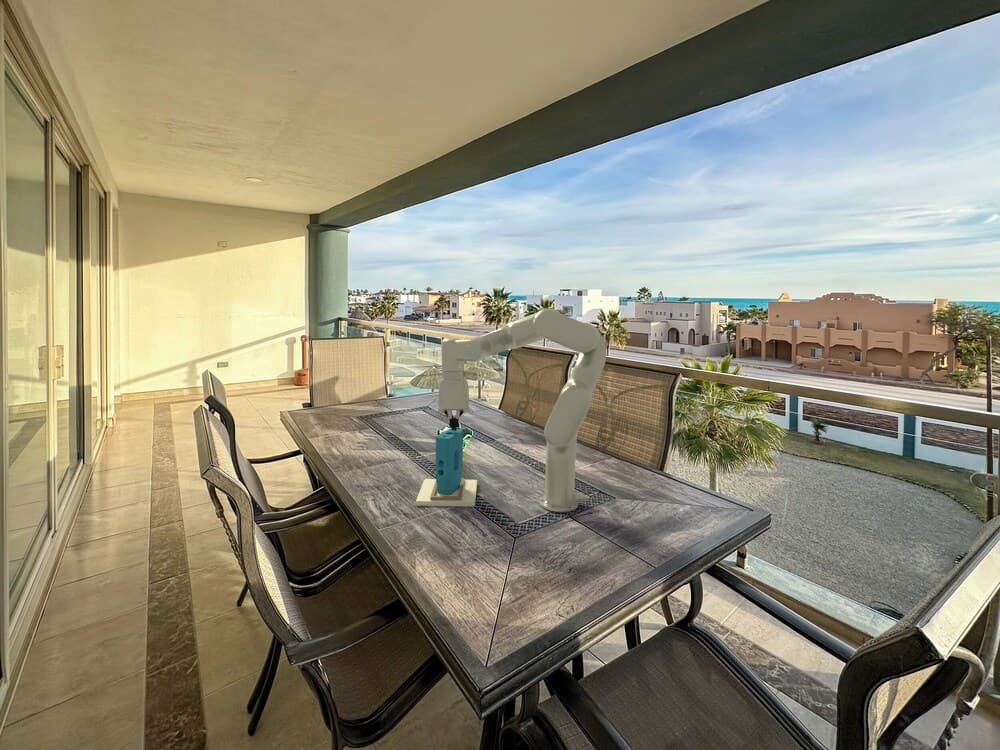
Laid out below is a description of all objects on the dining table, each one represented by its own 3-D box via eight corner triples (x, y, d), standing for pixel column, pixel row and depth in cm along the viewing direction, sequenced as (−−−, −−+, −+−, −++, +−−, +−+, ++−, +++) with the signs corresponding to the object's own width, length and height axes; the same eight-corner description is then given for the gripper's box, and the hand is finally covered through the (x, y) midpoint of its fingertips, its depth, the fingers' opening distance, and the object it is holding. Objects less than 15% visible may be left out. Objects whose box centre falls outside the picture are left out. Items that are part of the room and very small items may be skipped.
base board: (477, 483, 167) (477, 477, 167) (474, 506, 148) (474, 499, 148) (424, 482, 167) (424, 476, 166) (415, 505, 148) (415, 498, 148)
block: (447, 497, 151) (448, 439, 148) (434, 495, 153) (434, 437, 150) (463, 484, 162) (463, 429, 159) (450, 482, 164) (450, 428, 161)
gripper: (476, 373, 156) (476, 426, 159) (432, 374, 156) (433, 426, 159) (475, 377, 149) (476, 432, 152) (429, 377, 149) (430, 432, 151)
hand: (454, 429), depth 155 cm, fingers closed
